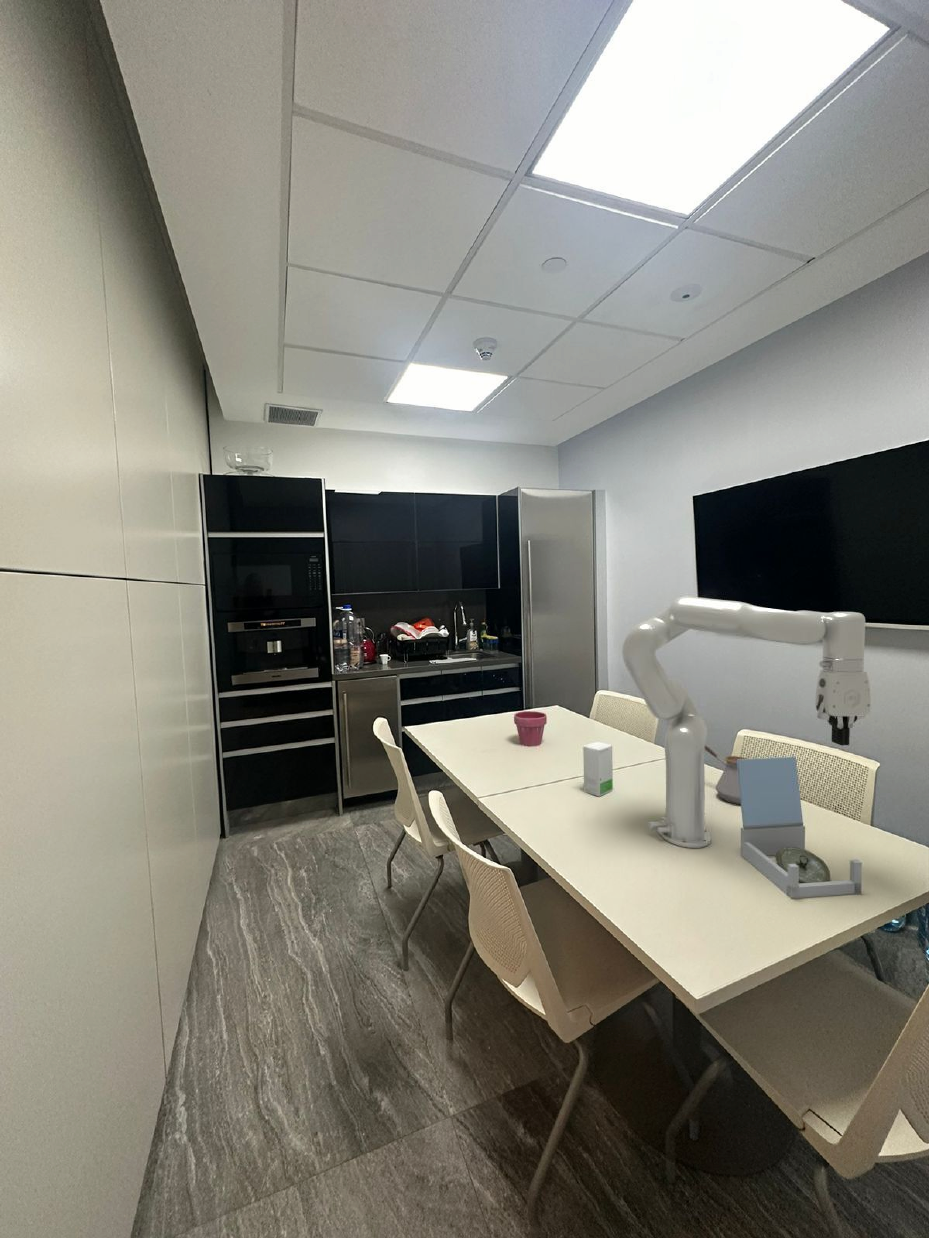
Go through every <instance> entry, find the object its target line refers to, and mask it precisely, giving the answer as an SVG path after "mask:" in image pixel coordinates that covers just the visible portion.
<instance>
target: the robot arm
mask: <svg viewBox="0 0 929 1238" xmlns="http://www.w3.org/2000/svg"><path fill="white" fill-rule="evenodd" d="M689 630H693V631H702V632H703V631H704V632H711V633H717V634H718V633H719V634H723V635H730V636H737V637H742V638H749V639H750V638H751V639H756V640H757V639H758V640H764V641H768V642H769V641H770V642H775V643H782V644H791V645H797V646H798V645H799V646H811V645H814V644H817V643H819V642H820V641H822V661H821V660H820V661H819V662H818V665H819V667H821V669H822V670H820V671H819V675H818V678H817V684H816V691H815V709H816V711H817V718H818V719H820V720H823V721H826V722H828V725H829V726H831V742H832V743H835V744H836V745H838V746H842V747H843V746H850V737H851V736H850V734H851V732H850V731H851V729H852V728H853V727H854V724H855V722H856V721H857V720H862V719H864V718H865V717H866V716H867V715H869V714H870V713H871V708H872V707H871V701H872V699H871V685H870V682H869V681H870V679H869V675H868V673H867V672H866V671H864V669H865V642H866V641H865V640H866V639H865V638H866V636H865V635H866V617H865V616H864V614H863V613H861V612H855V611H833V612H821V611H813V610H802V609H801V610H796V611H794V610H784V609H778V608H777V609H776V608H768V607H763V606H757V605H753V604H751V603H747V602H742V601H736V600H727V599H726V600H725V599H724V600H723V599H716V598H715V599H714V598H707V597H696V596H694V595H684V596H680V597H679V596H678V597H677V598H675V599H674V601H672V602H671V604H669V606H667V607H666V608H665V609H663V610H661V611H659V612H657V614H655V615H654V616H652V617H650V618H649V619H647V620H645V621H641V622H639V623H637V624H636V625H635V626H633V627H632V629H631V630H629V632H628V633H627V634H626V637H625V639H624V641H623V644H622V653H621V654H622V659H623V662H624V665H625V667H626V669H627V671H628V673H629V675H630V677H631V678H632V681H633V682H634V684H635V686H636V688H637V690H638V692H639V693H640V695H641V697H642V698H643V700H644V702H645V704H646V706H647V708H648V710H649V712H650V713H651V714H652V715H653V717H655V718H656V719H658V720H661V721H664V722H665V723H666V725H667V727H668V729H667V730H666V732H665V736H664V744H663V745H664V756H665V759H664V760H665V816H662V817H661V818H662V820H658V821H649V822H648V823H647V826H648V829H649V830H650V831H651V830H657V833H658V834H660V836H661V837H662V838H663V839H664V840H665V841H667V842H669V843H671V844H673V845H676V846H678V847H683V848H692V849H697V848H698V849H699V848H705V847H707V846H708V845H710V843H711V842H712V836H711V834H710V832H709V831H708V830H706V829H705V806H706V805H705V792H706V791H705V780H706V779H705V777H706V776H705V775H706V774H705V746H706V743H707V739H708V738H707V737H708V728H707V725H706V722H705V721H704V719H703V717H702V715H701V713H700V712H699V710H698V709H697V707H696V705H695V703H694V702H693V700H692V697H691V696H690V694H689V693H688V691H687V690H686V689H685V687H683V686H682V684H681V683H679V682H678V681H675V680H672V679H670V678H669V676H668V674H667V673H666V671H665V669H664V667H663V665H662V664H661V663H660V661H659V660H658V659H657V656H656V652H657V650H659V649H661V648H662V647H664V646H665V645H666V644H668V643H670V642H672V641H673V640H674V639H676V638H678V637H680V636H681V635H683V634H685V633H686V632H688V631H689Z"/></svg>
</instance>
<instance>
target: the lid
mask: <svg viewBox="0 0 929 1238" xmlns="http://www.w3.org/2000/svg"><path fill="white" fill-rule="evenodd" d="M775 861H776V864H777V865H778V866H780V867H781V868H782V869H783V870H785V871H786V872H787V873H788V864H796V865H797V866H799V884H801V883H815V882H829V880H830V876H831V875H830V874H831V873H830V869H829V866H828V865H827V864H826V862H825V861H824V860H823V859H822V858H821V857H819V856H818V855H816V854H814V853H813V852H811V851H809V850H806V849H805V850H804V849H800V848H797V847H784V848H782V849H780V850H779V851H777V853H776V855H775Z"/></svg>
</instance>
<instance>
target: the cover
mask: <svg viewBox="0 0 929 1238" xmlns="http://www.w3.org/2000/svg"><path fill="white" fill-rule="evenodd" d="M797 764H798V763H797V757H796V756H781V757H779V756H778V757H760V758H758V757H757V758H746V759H737V771H738V781H739V791H740V801H741V804H740V810H741V821H742V828H744V829H747V828H763V827H780V826H796V825H804V820H803V811H802V804H801V803H802V801H801V792H800V791H801V790H800V784H799V783H800V782H799V774H798V767H797V766H798V765H797Z"/></svg>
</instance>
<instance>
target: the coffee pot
mask: <svg viewBox="0 0 929 1238" xmlns="http://www.w3.org/2000/svg"><path fill="white" fill-rule="evenodd" d="M704 751H706V752H708V753H709V754H710V755H712V756H713V757H714V758H716V759H717V760H718V761H720V762H721V763H722V764H723V765H724V766H725V768H724V770H723V772H722V774H721V776H720V777H719V779H718V781H717V783H716V785H715V790H716V792H717V793H718V795H719V796H720V797H721V798H722V799H723V800H724V801H727V802H728V803H732V804H736V805H741V801H740V791H739V781H738V771H737V759H747V758H745V757H744V756H743V757H742V756H736V755H728V756H725V757H724V760H723V758H721V757H720V756H718V755H717V753H715V751H713V749H711V748H710V747H709V746H707V745H705V748H704Z"/></svg>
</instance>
